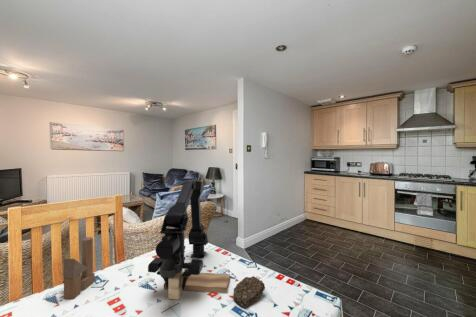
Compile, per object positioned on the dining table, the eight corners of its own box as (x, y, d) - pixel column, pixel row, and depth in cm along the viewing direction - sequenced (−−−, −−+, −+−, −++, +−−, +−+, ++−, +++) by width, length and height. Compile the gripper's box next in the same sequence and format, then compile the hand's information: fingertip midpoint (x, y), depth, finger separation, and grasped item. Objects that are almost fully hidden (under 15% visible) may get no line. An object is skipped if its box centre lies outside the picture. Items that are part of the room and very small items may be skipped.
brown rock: (252, 284, 81) (252, 271, 81) (269, 298, 73) (269, 284, 73) (226, 294, 75) (226, 280, 75) (242, 311, 67) (242, 296, 67)
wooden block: (63, 299, 72) (63, 247, 72) (86, 281, 83) (86, 236, 83) (73, 299, 72) (73, 247, 72) (95, 281, 83) (95, 236, 83)
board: (173, 275, 87) (173, 271, 87) (230, 279, 85) (230, 274, 85) (163, 289, 78) (163, 283, 78) (226, 293, 76) (226, 287, 76)
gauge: (182, 276, 86) (182, 259, 86) (191, 277, 86) (191, 260, 86) (168, 298, 72) (168, 278, 72) (178, 299, 72) (178, 279, 72)
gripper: (138, 254, 68) (138, 302, 68) (194, 257, 66) (194, 306, 66) (155, 241, 79) (155, 282, 79) (203, 243, 77) (203, 285, 77)
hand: (176, 289), depth 75 cm, fingers open, 5 cm apart
